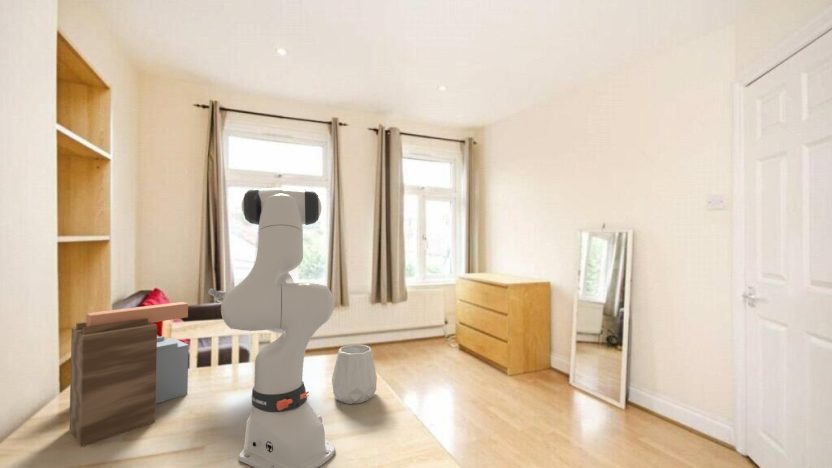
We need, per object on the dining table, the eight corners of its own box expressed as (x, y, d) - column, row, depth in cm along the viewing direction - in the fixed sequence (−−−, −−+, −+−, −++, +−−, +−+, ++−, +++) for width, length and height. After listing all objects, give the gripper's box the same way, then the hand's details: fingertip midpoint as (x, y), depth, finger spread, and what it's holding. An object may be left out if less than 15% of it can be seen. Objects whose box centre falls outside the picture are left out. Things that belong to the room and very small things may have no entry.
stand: (155, 421, 99) (157, 319, 99) (80, 446, 87) (83, 330, 87) (139, 408, 107) (141, 312, 107) (69, 429, 95) (71, 321, 95)
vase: (331, 408, 109) (332, 357, 109) (331, 389, 123) (332, 343, 123) (379, 404, 112) (380, 354, 112) (373, 386, 126) (374, 341, 126)
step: (187, 394, 117) (188, 341, 117) (145, 406, 108) (147, 349, 108) (172, 384, 124) (173, 334, 124) (132, 395, 115) (133, 341, 115)
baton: (187, 317, 109) (188, 303, 109) (90, 331, 91) (90, 315, 91) (182, 315, 111) (182, 301, 111) (85, 329, 94) (86, 313, 94)
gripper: (241, 296, 134) (207, 280, 125) (273, 304, 122) (237, 287, 112) (232, 312, 132) (197, 297, 122) (263, 322, 120) (226, 306, 110)
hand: (216, 292), depth 117 cm, fingers open, 8 cm apart
